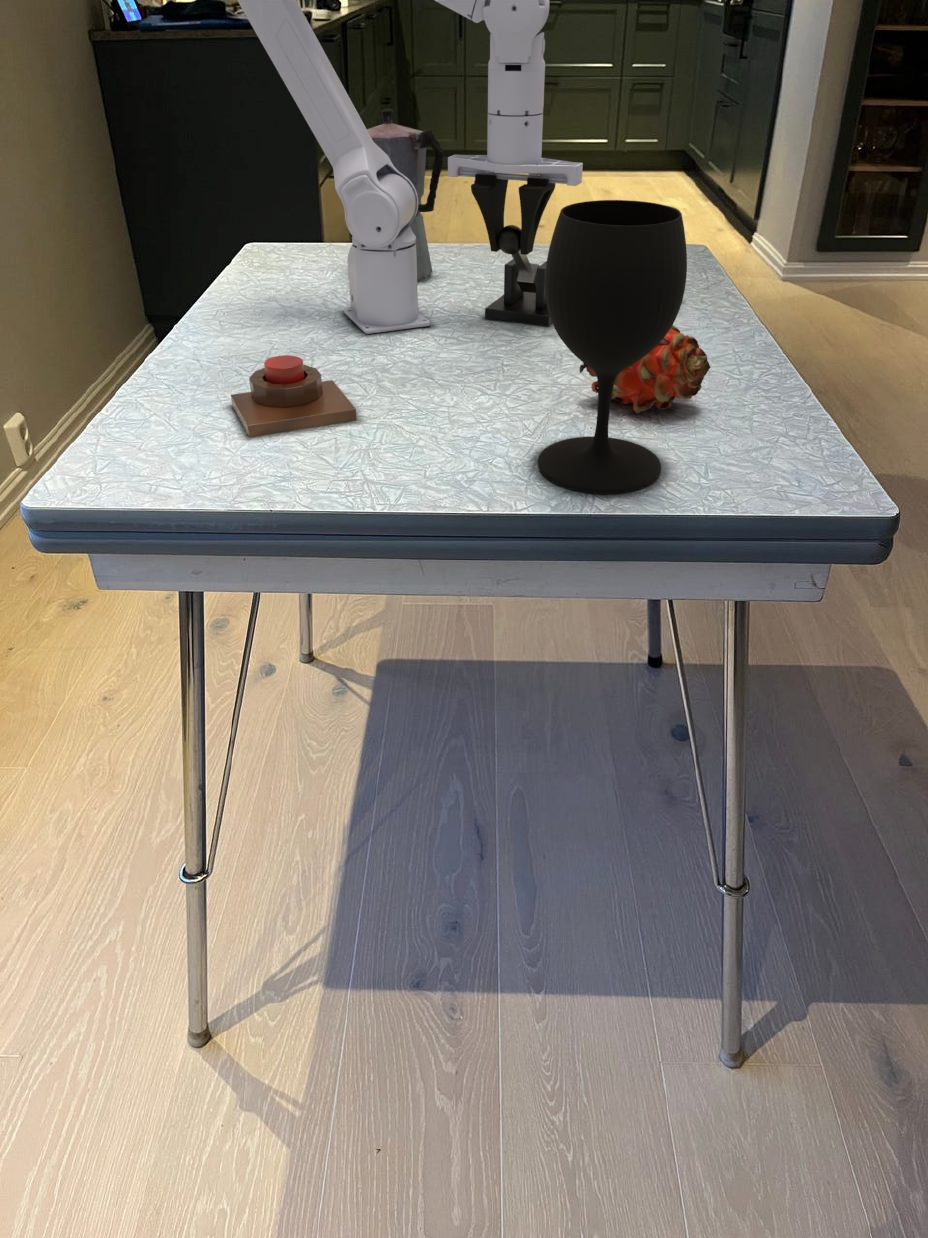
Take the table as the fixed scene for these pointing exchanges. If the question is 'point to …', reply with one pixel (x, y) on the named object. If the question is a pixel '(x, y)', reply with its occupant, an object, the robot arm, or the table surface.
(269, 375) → the button
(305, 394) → the button block
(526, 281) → the lever
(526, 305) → the bracket
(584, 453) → the wine glass
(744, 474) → the table surface
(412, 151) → the moka pot
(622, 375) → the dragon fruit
